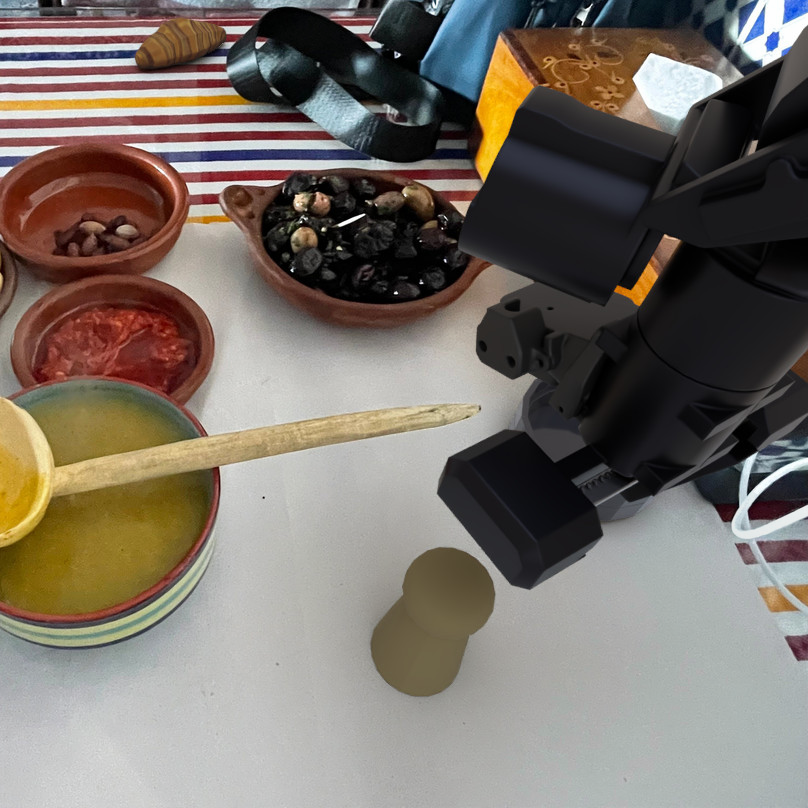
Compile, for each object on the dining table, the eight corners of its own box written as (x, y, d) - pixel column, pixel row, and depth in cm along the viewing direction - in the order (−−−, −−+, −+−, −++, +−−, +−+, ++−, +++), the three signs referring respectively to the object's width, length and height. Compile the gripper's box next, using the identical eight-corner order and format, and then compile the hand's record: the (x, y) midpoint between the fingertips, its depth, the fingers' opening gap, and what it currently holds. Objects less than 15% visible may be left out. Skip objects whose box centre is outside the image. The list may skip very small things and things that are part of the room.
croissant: (153, 84, 93) (150, 43, 89) (123, 60, 96) (119, 20, 92) (240, 54, 99) (241, 14, 95) (210, 32, 102) (209, -7, 98)
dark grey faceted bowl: (675, 447, 63) (702, 414, 59) (625, 553, 56) (652, 523, 53) (540, 378, 67) (558, 343, 63) (479, 470, 60) (495, 436, 57)
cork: (408, 590, 53) (445, 511, 45) (478, 652, 51) (531, 581, 42) (351, 649, 51) (379, 576, 42) (423, 717, 48) (467, 655, 40)
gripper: (705, 165, 37) (583, 371, 49) (399, 283, 31) (346, 487, 43) (918, 309, 31) (721, 502, 44) (599, 492, 25) (472, 658, 37)
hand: (566, 529), depth 42 cm, fingers open, 9 cm apart
